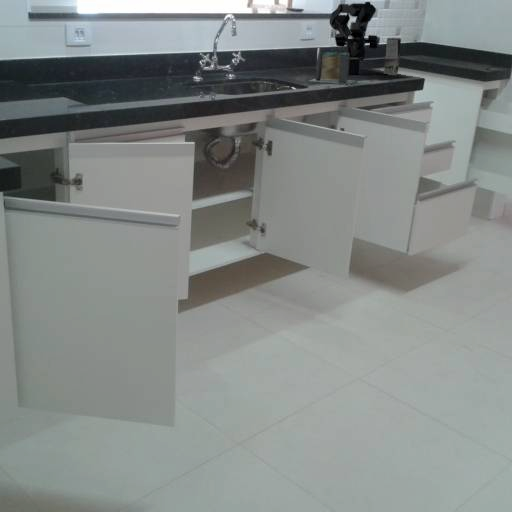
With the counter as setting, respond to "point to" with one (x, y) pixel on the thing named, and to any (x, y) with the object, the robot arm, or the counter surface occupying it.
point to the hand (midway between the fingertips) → (352, 56)
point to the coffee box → (392, 56)
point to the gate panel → (332, 65)
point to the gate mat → (332, 81)
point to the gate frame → (342, 70)
